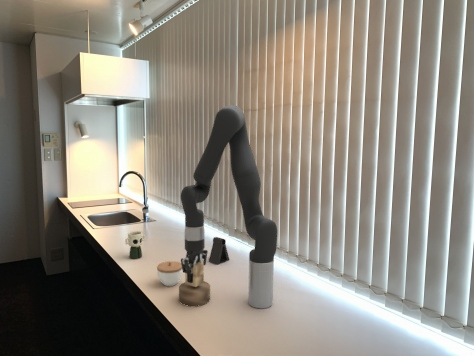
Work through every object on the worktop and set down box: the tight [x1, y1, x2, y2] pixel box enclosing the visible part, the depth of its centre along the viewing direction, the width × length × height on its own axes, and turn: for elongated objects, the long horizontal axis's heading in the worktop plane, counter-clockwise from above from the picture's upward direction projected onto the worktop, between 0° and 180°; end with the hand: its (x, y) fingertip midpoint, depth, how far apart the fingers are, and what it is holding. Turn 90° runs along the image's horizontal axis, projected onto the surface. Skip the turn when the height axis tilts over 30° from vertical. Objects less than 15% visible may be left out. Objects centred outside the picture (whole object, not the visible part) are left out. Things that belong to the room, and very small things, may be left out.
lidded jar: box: [156, 260, 183, 287], centre depth 150 cm, size 11×11×9 cm
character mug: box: [125, 230, 146, 259], centre depth 180 cm, size 11×7×13 cm, turn 136°
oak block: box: [184, 262, 205, 287], centre depth 135 cm, size 5×5×8 cm
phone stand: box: [208, 236, 230, 266], centre depth 176 cm, size 9×6×12 cm, turn 138°
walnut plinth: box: [178, 280, 211, 307], centre depth 136 cm, size 12×12×5 cm
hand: (194, 279), depth 135 cm, fingers closed on oak block, 5 cm apart
